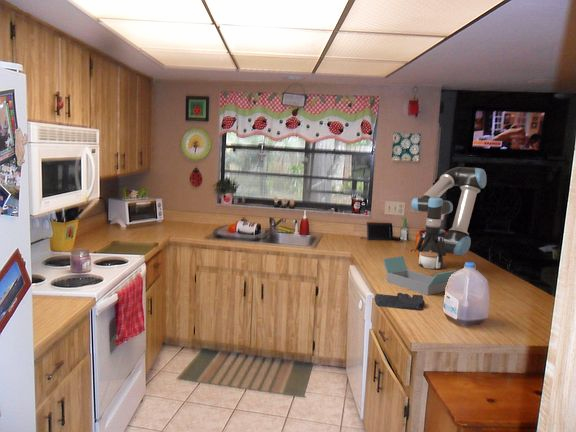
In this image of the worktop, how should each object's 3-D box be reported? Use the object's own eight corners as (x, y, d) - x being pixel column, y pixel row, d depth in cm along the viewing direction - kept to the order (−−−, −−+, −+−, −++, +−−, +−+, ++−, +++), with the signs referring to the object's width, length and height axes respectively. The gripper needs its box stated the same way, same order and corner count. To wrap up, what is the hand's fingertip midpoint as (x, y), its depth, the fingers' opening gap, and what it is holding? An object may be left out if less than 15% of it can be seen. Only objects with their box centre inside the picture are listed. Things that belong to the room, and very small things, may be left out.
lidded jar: (415, 265, 261) (416, 248, 259) (430, 264, 265) (432, 248, 263) (427, 270, 251) (428, 253, 250) (443, 269, 255) (445, 252, 253)
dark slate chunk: (374, 297, 222) (374, 287, 221) (421, 301, 219) (422, 292, 218) (374, 307, 207) (375, 297, 206) (425, 312, 204) (426, 302, 203)
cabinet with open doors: (381, 279, 252) (382, 258, 250) (400, 276, 261) (402, 256, 260) (434, 297, 225) (436, 273, 223) (453, 292, 234) (456, 270, 233)
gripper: (411, 223, 261) (408, 261, 264) (447, 230, 243) (443, 271, 246) (419, 222, 266) (416, 260, 269) (455, 229, 248) (451, 269, 251)
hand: (429, 265), depth 258 cm, fingers closed on lidded jar, 11 cm apart
